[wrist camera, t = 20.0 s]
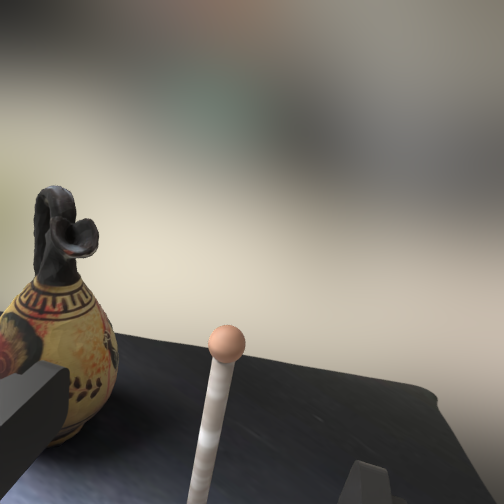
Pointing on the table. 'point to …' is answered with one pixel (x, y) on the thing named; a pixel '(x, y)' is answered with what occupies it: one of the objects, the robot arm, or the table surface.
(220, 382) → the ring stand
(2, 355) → the ceramic jug
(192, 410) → the table surface
